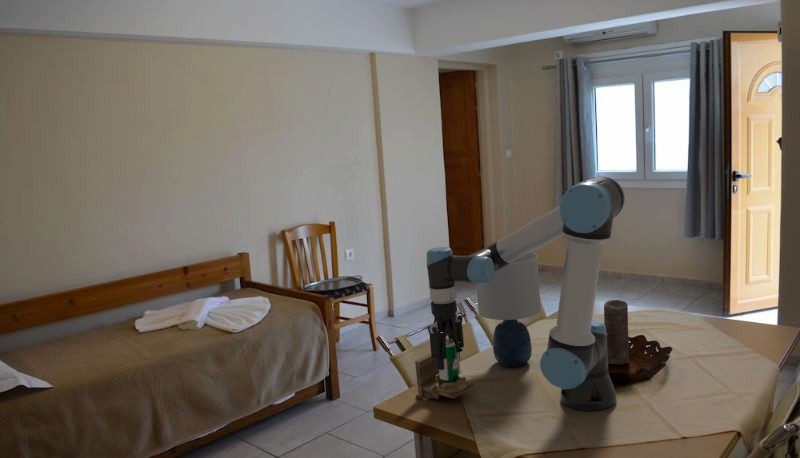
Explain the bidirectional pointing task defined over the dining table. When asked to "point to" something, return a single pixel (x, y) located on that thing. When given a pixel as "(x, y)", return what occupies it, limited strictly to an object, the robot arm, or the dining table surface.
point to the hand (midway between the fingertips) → (450, 375)
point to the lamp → (511, 308)
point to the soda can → (451, 360)
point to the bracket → (437, 381)
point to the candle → (617, 331)
